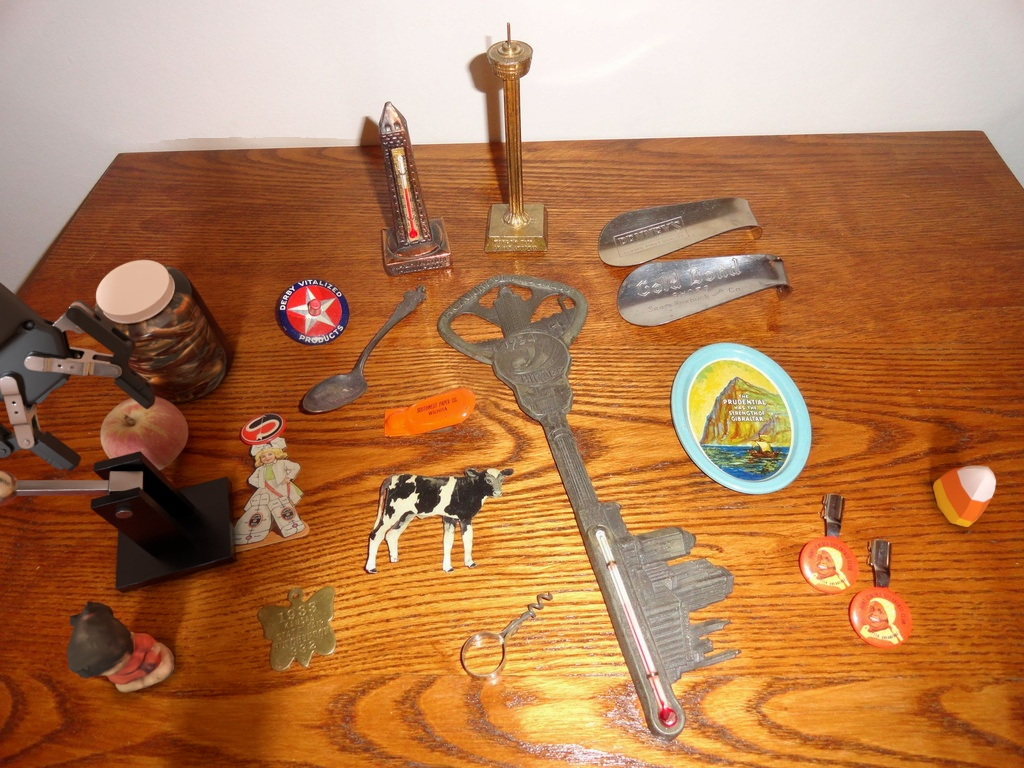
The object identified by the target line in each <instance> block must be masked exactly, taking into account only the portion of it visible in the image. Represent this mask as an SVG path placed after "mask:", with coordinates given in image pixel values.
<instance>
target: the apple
mask: <svg viewBox="0 0 1024 768" xmlns="http://www.w3.org/2000/svg"><path fill="white" fill-rule="evenodd" d="M188 438H189V426H188V422H187V420H186V417H185V416H184V414H183V413H182V412H181V410H180V409H179V408H178V407H177V406H176V405H174V403H173V402H169V401H167V400H165V399H162V398H160V397H156V396H155V403H154V405H152V406H151V407H150V408H149V409H145V408H144V407H142V406H141V405H140V404H139V403H137V402H136V401H135V400H134V399H133V398H131V397H130V398H128V399H125V400H123V401H121V402H120V403H119V404H118V405H116V406H115V407H114V408H113V409H112V410H111V411H109V413H108V414H107V415H106V416H105V417H104V420H103V421H102V423H101V427H100V444H101V446H102V447H101V448H102V449H103V451H104V453H105V454H106V456H107V457H108V459H111V458H115V457H119V456H123V455H127V454H131V453H135V452H139V451H141V452H142V453H143V454H144V455H145V456H146V457H147V458H148V459H149V460H150V461H151V462H152V463H153V464H154V465H155V466H156V467H157V468H158V470H159V471H161V470H164V468H166V467H168V466H169V465H171V464H172V463H173V462H174V461H175V460H176V459H177V458H178V456H179V455H180V454H181V453H182V451H183V450H184V449H185V446H186V445H187V442H188Z"/></svg>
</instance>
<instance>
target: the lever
mask: <svg viewBox="0 0 1024 768" xmlns="http://www.w3.org/2000/svg"><path fill="white" fill-rule="evenodd" d="M136 487H140V488H141V489H142V490H143V471H110V476H109V480H103V479H61V480H60V479H55V480H54V479H53V480H51V479H48V480H47V479H45V480H43V479H42V480H41V479H40V480H39V479H38V480H36V479H35V480H34V479H33V480H32V479H31V480H30V479H29V480H28V479H26V480H25V479H23V480H22V479H18V478H17V477H16V475H14V474H13V473H11V472H10V471H7V470H1V469H0V507H3V506H5V505H8V504H10V503H11V502H13V501H14V500H15V498H17V497H33V496H34V497H37V496H38V497H41V496H43V497H44V496H45V497H46V496H49V497H50V496H106V495H109V494H113V493H117V492H121V491H125V490H129V489H133V488H136Z"/></svg>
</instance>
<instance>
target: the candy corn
mask: <svg viewBox="0 0 1024 768" xmlns="http://www.w3.org/2000/svg"><path fill="white" fill-rule="evenodd" d="M996 485H997V479H996V476H995V473H994V472H993V471H992V470H991V468H990V467H989V466H987V465H986V466H985V465H967V466H966V465H965V466H961V467H956V468H953V469H950V470H949V471H947V472H945V473H944V474H943V475H941V477H939V478H938V479H936V480H935V481H934V483H933V485H932V489H933V494H934V497H935V501H936V505H937V508H938V509H939V510H940V511H941V513H942V514H943V515H944V517H945V518H946V519H947V520H948V522H949V523H950V524H953V525H958V526H960V527H965V528H969V527H970V526H971V525H973V524H974V523H975V522H976V521H977V520H978V519H979V518H981V516H982V515H983V513H984V512H985V511H986V509H987V507H988V505H989V504H990V502H991V500H992V498H993V496H994V493H995V491H996Z"/></svg>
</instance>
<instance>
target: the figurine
mask: <svg viewBox="0 0 1024 768" xmlns="http://www.w3.org/2000/svg"><path fill="white" fill-rule="evenodd" d="M114 615H115V614H114V611H113V609H112V608H111V606H109V605H107V604H105V603H101V602H98V601H92V600H90V601H86V603H85V605H84V607H83V608H82V610H81V612H79V613H78V614H74V615H69V625H70V626H72V627H73V628H72V632H71V634H70V635H71V636H70V638H69V643H68V644H67V645H68V646H67V650H66V656H67V665H68V667H67V668H68V670H69V671H71V672H72V673H74V674H77V675H78V676H79V677H80V678H83V679H87V680H88V679H90V678H92V677H100V676H105V677H107V679H108V680H109V681H110V682H111V683H113V684H114V685H115V689H117V690H118V692H120V693H131V692H134V691H139V690H142V689H146V688H149V687H151V686H153V685H156V684H158V683H161V682H163V681H164V680H167V679H168V678H170V677H171V676H172V675H173V673H174V670H175V659H176V658H175V656H174V653H173V652H172V651H171V650H170V648H168V647H167V645H165V643H163V642H159V641H157V640H156V639H155V638H153V636H152V635H150V634H147V633H144V632H139V633H137V632H136V633H134V632H133V631H130V630H129V629H128V628H127V626H126V625H125V624H124V623H123V622H121V620H119V618H117V617H115V616H114Z"/></svg>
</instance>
